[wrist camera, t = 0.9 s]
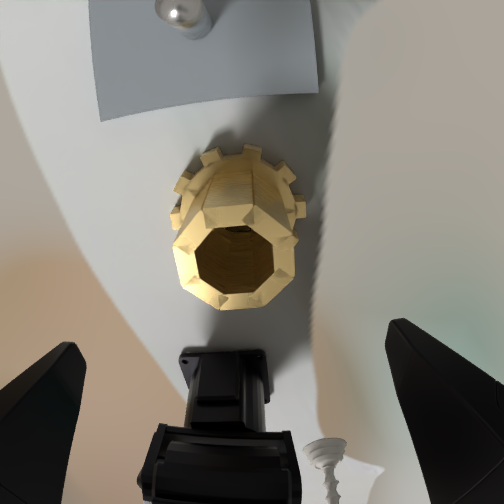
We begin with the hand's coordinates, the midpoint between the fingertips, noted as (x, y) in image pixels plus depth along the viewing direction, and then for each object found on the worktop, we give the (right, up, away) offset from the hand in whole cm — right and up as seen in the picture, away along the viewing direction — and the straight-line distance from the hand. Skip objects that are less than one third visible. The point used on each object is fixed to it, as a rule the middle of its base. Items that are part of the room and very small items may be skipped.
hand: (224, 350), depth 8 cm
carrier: (-2, +16, +4) cm, 17 cm away
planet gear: (0, +5, +10) cm, 11 cm away
